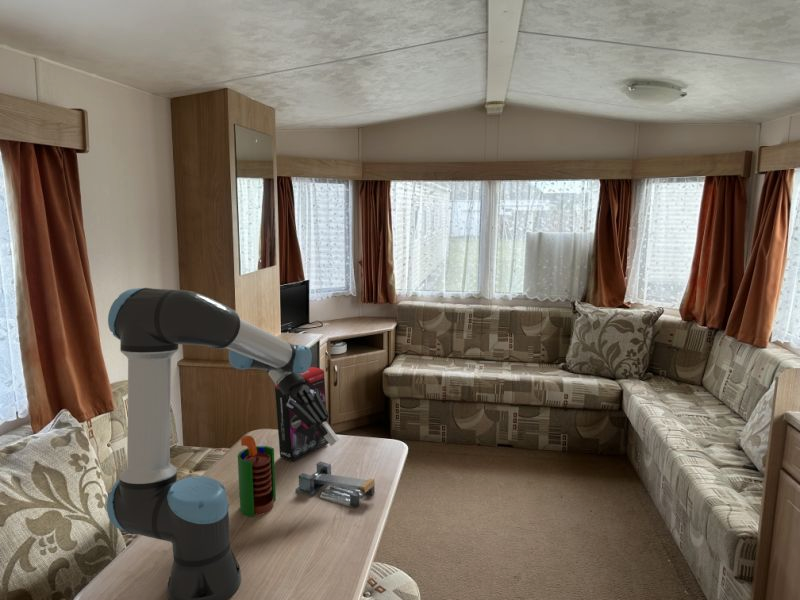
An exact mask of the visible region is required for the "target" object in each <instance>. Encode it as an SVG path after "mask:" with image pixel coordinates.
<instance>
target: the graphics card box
mask: <svg viewBox="0 0 800 600" xmlns="http://www.w3.org/2000/svg"><path fill="white" fill-rule="evenodd" d="M300 374H301V375H302V376H303V378H304V379H305V384H306V385H307V386H308V387H309V388H310V389H311V390H315V389H318V391H319V396H320V398H321V400H322V402H323V404H324V406H325V407H326V408H327V397H326V396H327V395H326V384H325V383H326V380H325V370H324V369H322V368H320V367H315V366H311V365H310V367H309V369H308V370H307V371H306V372H305V373H300ZM274 393H275V394H274V395H275V405H276V406H275V407H276V419H277V420H276V421H277V432H278V444H279V445H278V446H279V457H280V458H282V459H284V460H287V461H290V462H294V461H296V460H299V459H301V458H303V457H305V456H307V455H309V454H311V453H313V452H314V451H317V450H319V449H321V448H323V447H325V446H327V445H329V443H328V441H327V440H326V439H325V437H324V436H322V435H321V434H320V432H319V431H318V430H317V428H316V429H315V430H314V429H313V428H314V427H312V428H309V427H308V426H307V425H306V424H305V423H304V422H303V421H302V420H301V419H300V418H299V417H297V416H296V415H295V414H294V413H293V412H292V411H291V410H289V409H288V408H286V407H285V405H286V404H287V403H288V398H287V396H285V395H283V394H282V392H281V391H280V389H279V388H278V385H276V384H275V383H274Z"/></svg>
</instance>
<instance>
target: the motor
mask: <svg viewBox="0 0 800 600" xmlns="http://www.w3.org/2000/svg"><path fill="white" fill-rule="evenodd" d="M240 445H241V446H243V447H244V446H245V447H247V448H244V449H242V450H241V451H239V452H238V454H237V471H238V472H237V473H238V489H239V490H238V493H239V510H240V511H239V512H240V513H241V514H242V515H243V516H246V517H248V518H254V517H255V516H256V515H262V514H263V513H264V514H267V513H268V512H270V511H272V509H274V506H275V505H274V502H276V501H277V499H276V473H275V472H276V471H275V470H276V469H275V468H276V467H275V449H274V447H271V446H268V445H256V441H255V439H254V437H253V436H251V435H244V436H243V437H241V438H240ZM264 514H263V515H264Z"/></svg>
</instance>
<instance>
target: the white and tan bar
mask: <svg viewBox="0 0 800 600" xmlns="http://www.w3.org/2000/svg"><path fill="white" fill-rule="evenodd" d="M310 475H311V476H314V483H317V484H323V485H327V486H329V487H330V486H336V487H342V488H348V489H355V490H360V492H363V493H365V494H366V492H367V491H368V490H369V489H370V488H372V487H373V486H374V487H375V485H376V484H375V483H376V481H375V479H373V478H368V479H362V478H356V477H349V476H343V475H337V474H335V475H334V474H331V475H329V474H324V473H323V472H322V471H321V470H319V471H317V470H316V472H314V473H313V474H310Z"/></svg>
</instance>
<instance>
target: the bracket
mask: <svg viewBox="0 0 800 600" xmlns="http://www.w3.org/2000/svg"><path fill="white" fill-rule="evenodd" d="M315 465H316V472H317V471H319V470H321V471H322V472H323V473H324V474H329V475H332V464H331V463H327V462H323V461H319V462H317V463H316V464H315ZM311 475H312V474H308V473H303V472H302V473H300V474H298V487H297V488H295V492H296V493H299V494H303V495H305V494H306V495H305V496H309V497H314V496H315V495H316V494H318V493H319V492H321V491H322V490H323V489H325V488H326V487H328V485H323V484H317V483H314V476H311ZM366 494H367V495H370V496H373V494H375V485H374V486H373V487H372V488H370V489H369V490H368V491H367V492H366V493H363V492H360V490H355V489H348V488H342V487H336V486H329V488H326V489H325V491H322V492H321V494H320V497H319V498H321V499H323V500H327V501H329V502H333V503H336V504H339V505H343V506H347V507H352V508H356V509H357V508H358V507H359V506H360V503H361V502H360V499H361V498H362V497H363V496H364V495H366Z"/></svg>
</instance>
